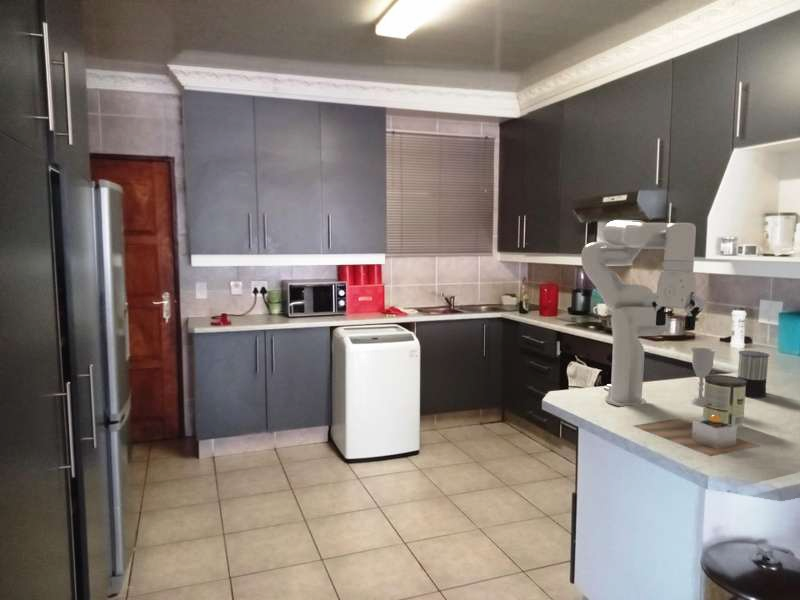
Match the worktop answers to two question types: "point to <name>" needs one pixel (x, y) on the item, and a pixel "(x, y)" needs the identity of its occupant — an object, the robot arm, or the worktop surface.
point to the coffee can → (725, 398)
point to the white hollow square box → (714, 434)
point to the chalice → (701, 369)
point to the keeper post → (715, 420)
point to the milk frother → (753, 372)
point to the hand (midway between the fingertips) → (674, 327)
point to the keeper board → (688, 436)
